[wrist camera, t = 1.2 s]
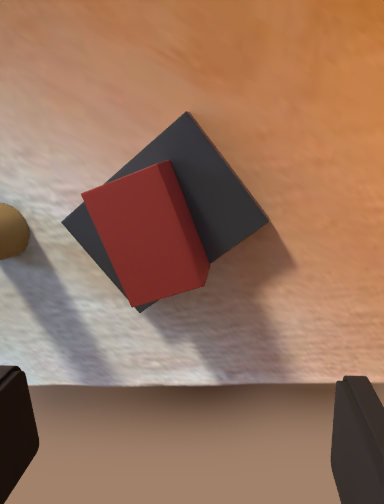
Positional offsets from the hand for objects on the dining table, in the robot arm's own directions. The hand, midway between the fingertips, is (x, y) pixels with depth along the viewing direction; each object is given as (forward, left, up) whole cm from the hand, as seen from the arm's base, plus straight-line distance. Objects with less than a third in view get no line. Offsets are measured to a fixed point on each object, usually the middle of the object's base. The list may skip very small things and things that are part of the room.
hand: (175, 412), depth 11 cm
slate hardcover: (+5, -3, -26) cm, 27 cm away
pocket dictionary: (+5, -3, -24) cm, 25 cm away
